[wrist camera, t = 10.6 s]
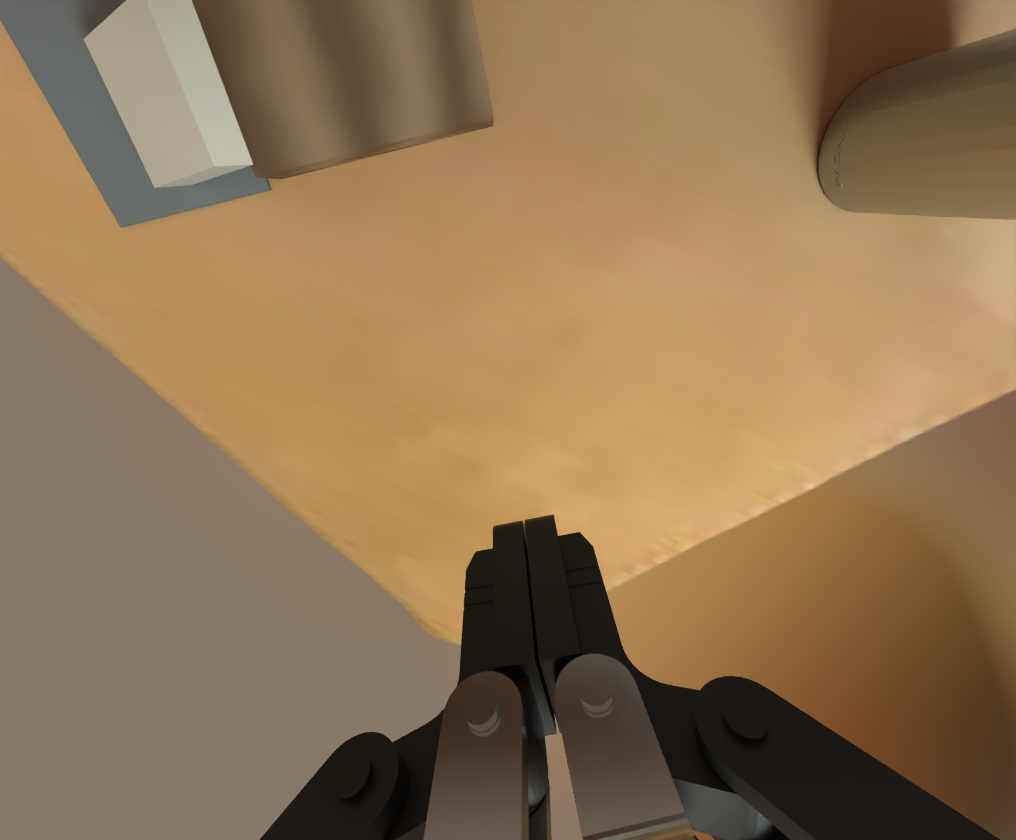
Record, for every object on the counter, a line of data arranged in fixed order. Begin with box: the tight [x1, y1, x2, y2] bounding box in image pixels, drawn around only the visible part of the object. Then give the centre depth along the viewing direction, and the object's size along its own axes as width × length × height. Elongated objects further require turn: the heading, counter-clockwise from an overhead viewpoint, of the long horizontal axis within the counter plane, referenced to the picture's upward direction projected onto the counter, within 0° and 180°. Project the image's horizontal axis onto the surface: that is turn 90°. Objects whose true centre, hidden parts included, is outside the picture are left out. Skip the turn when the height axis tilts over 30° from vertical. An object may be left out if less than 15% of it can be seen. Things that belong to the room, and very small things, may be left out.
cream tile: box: [84, 0, 253, 188], centre depth 27 cm, size 8×8×2 cm
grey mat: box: [0, 0, 272, 227], centre depth 29 cm, size 12×15×1 cm
